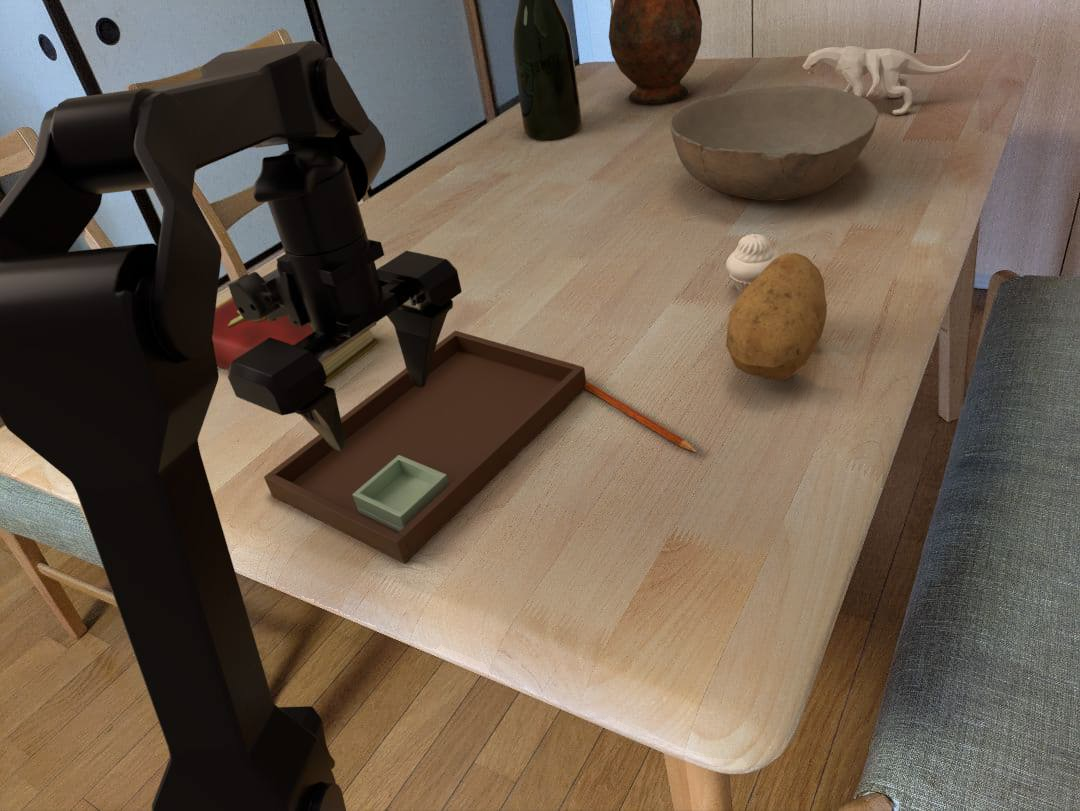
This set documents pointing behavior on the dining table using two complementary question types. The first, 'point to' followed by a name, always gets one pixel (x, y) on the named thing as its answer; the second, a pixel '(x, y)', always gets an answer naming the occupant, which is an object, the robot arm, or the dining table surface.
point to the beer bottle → (545, 71)
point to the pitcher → (655, 46)
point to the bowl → (773, 139)
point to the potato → (778, 318)
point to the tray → (431, 436)
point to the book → (243, 335)
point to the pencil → (639, 417)
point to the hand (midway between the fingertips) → (380, 416)
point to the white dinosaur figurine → (876, 69)
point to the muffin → (750, 260)
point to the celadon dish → (399, 492)
